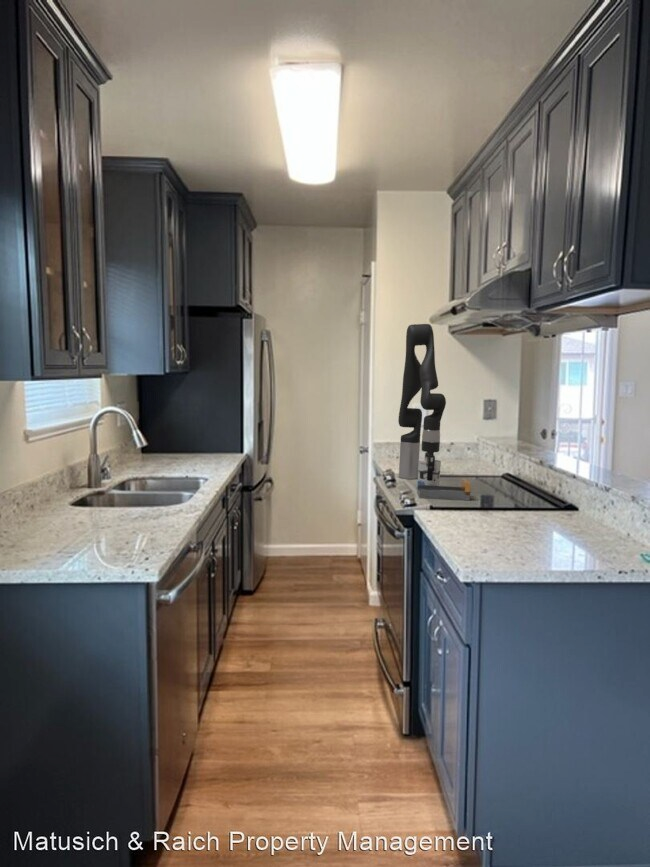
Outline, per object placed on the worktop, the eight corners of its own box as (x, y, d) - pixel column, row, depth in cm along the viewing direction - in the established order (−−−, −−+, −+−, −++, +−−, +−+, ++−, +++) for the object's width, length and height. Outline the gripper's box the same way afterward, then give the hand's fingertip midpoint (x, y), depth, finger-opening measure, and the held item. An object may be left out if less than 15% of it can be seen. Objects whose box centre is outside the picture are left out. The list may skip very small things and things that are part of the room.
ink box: (416, 487, 257) (418, 459, 255) (420, 485, 261) (421, 458, 259) (436, 489, 253) (437, 462, 251) (439, 487, 257) (441, 460, 256)
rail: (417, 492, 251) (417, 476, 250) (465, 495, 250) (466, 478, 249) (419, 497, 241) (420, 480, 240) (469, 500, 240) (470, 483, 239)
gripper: (420, 437, 262) (418, 475, 264) (423, 442, 247) (421, 481, 249) (437, 438, 261) (435, 476, 263) (442, 442, 247) (439, 482, 249)
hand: (428, 478), depth 256 cm, fingers closed on ink box, 6 cm apart
